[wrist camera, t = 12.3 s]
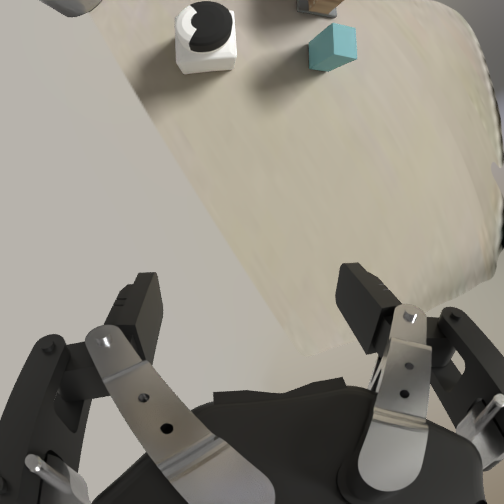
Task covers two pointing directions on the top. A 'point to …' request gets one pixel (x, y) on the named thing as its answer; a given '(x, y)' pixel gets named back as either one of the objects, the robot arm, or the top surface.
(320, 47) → the teal block
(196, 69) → the medicine bottle
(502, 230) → the top surface
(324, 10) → the brown block
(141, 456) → the robot arm
